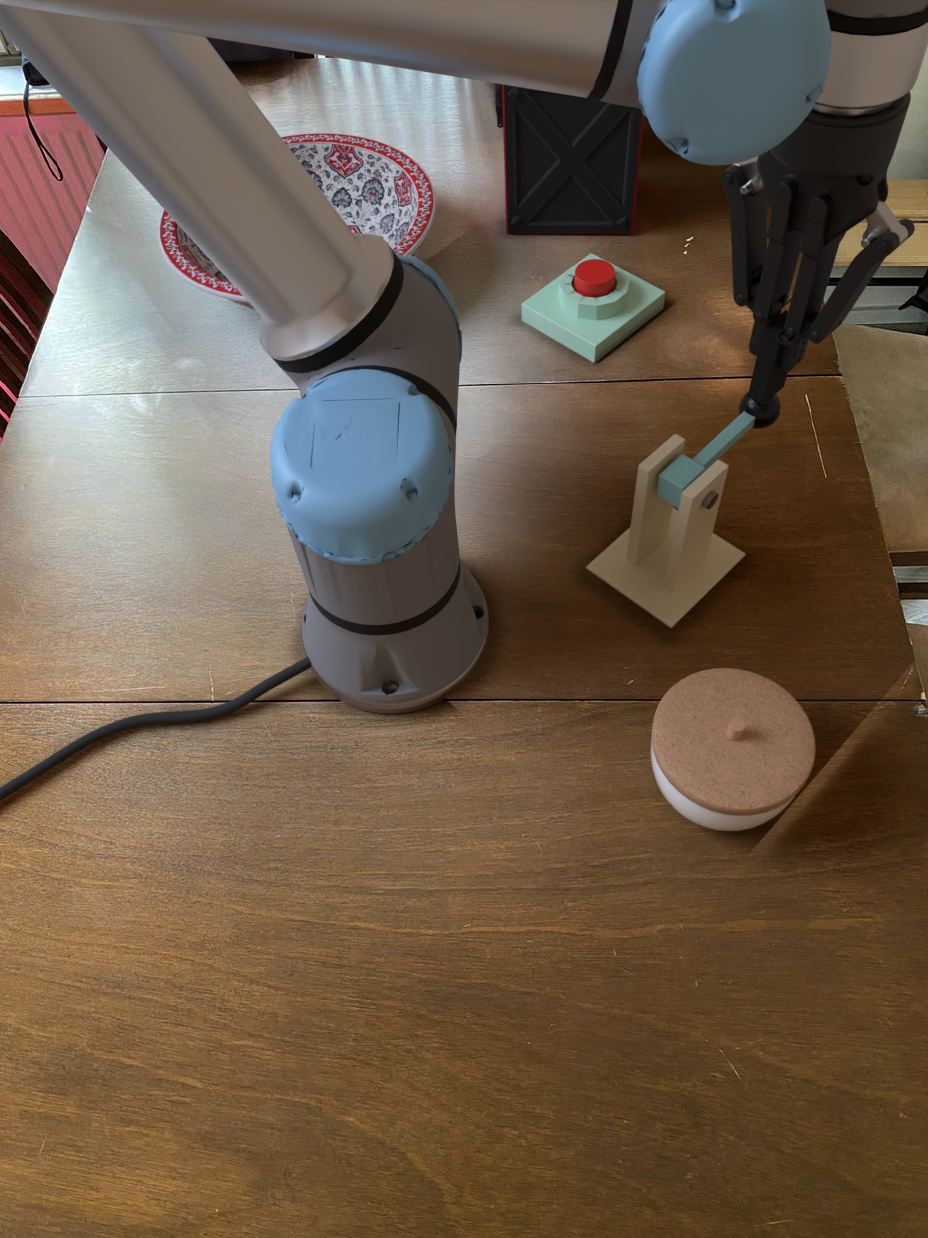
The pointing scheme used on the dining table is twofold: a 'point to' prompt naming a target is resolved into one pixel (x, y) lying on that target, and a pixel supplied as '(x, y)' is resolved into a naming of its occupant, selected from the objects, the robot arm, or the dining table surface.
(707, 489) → the bracket
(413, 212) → the ceramic bowl
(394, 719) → the dining table surface
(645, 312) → the button box
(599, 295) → the button
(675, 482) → the switch
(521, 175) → the black and red jerrycan
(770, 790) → the trinket box
